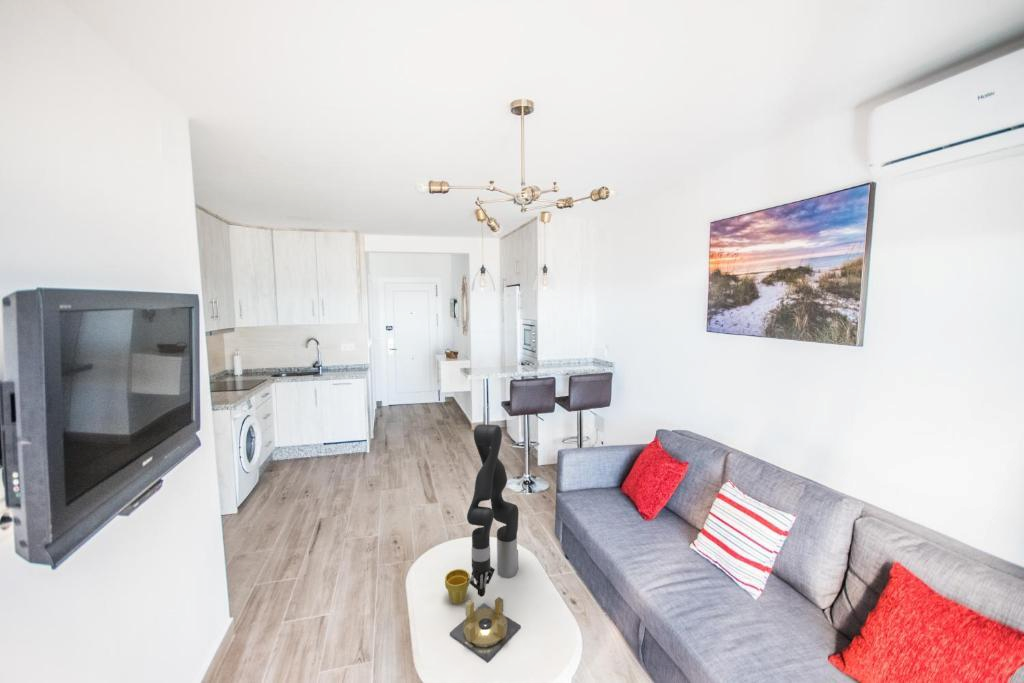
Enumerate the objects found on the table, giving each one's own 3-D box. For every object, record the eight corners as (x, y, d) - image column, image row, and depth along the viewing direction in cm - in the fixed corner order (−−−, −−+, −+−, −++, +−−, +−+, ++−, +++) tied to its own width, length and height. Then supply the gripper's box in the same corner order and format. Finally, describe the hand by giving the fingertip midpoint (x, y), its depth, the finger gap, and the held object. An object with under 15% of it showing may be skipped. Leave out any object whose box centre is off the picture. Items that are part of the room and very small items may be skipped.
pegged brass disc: (483, 602, 170) (483, 588, 169) (520, 624, 159) (519, 609, 158) (450, 632, 155) (449, 616, 155) (487, 658, 144) (487, 641, 143)
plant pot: (465, 608, 169) (465, 586, 168) (441, 605, 171) (441, 583, 170) (473, 591, 179) (472, 570, 178) (450, 588, 181) (450, 567, 180)
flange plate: (483, 605, 171) (483, 602, 170) (520, 627, 159) (520, 624, 159) (449, 635, 156) (449, 632, 155) (487, 662, 144) (487, 659, 144)
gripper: (488, 544, 172) (488, 583, 174) (461, 557, 164) (462, 598, 165) (499, 552, 167) (499, 592, 169) (473, 566, 158) (473, 608, 160)
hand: (481, 595), depth 167 cm, fingers closed
